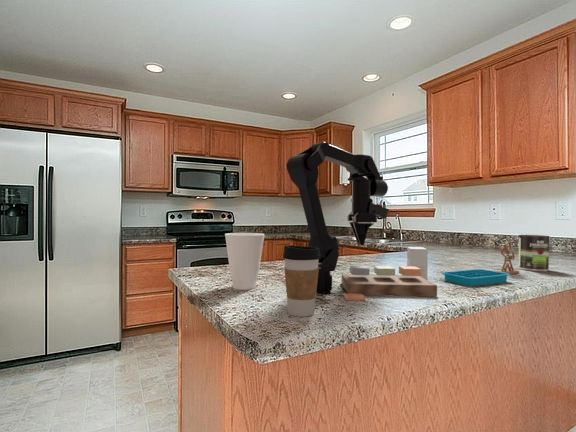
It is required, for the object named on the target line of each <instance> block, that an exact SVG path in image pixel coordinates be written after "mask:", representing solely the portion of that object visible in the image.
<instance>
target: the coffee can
mask: <svg viewBox="0 0 576 432" xmlns="http://www.w3.org/2000/svg"><path fill="white" fill-rule="evenodd" d="M550 238H551V237H550V236H549V235H541V234H540V235H538V234H518V267H517V268H518V269H520V270H524V271H531V272H549V271H550V270H549V264H550V261H549V260H550Z"/></svg>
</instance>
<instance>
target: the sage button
mask: <svg viewBox="0 0 576 432" xmlns="http://www.w3.org/2000/svg"><path fill="white" fill-rule="evenodd" d="M373 266H374V268H373V269H374V270H373V272H374V274H375V275H386V276H395V275H396V268H395V267H393V266H391V265H373Z"/></svg>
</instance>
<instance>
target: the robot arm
mask: <svg viewBox="0 0 576 432" xmlns="http://www.w3.org/2000/svg"><path fill="white" fill-rule="evenodd" d="M324 161H327V162H330V163H333V164H335V165H338V166H341V167H343V168H345V170H346V171H347V172H348V173H349V174H351V175H350V176H349V177H347V181H349V182H352V183H351V184H352V185H351V190H352V191H351V193H352V195H351V199H350V202H351V211H350V212H349V214H347V218H346V220H347V222H349V225H350V228H351V230H352V232H353V235H354V238H355V240H356V244H357V245H359V246H364V245H365V241H366V239H367V234H368V231H369V229H370V228H371V227H372V226H374V224H375V223H378V218H379V219H381V220H382V219H383V220H386V219H387V217H388V214H389V212H390V209H389V208H387V207H384V206H383V205H381V204H379V203H377V204H375V203H373V199H372V198H371V197H376V198H377V197H378V198H381V197H384V196H385V195H387V193H388V190H389V186H388V184H387V182H386V180H384V179H383V178H384V176H381V175H380V171H379V170H378V167H377V165H376V163H375V160H374V158H373V156H371V155H368V154H355V153H353V152H349V151H347V150H344V149H342V148H339V147H337V146H334V145H331V144H330V143H329V142H327V141H320V142H316V143H313V144H312V145H310V146H309V147H308V148H306V149H305V150H303V151H302V152H299V153H298V154H296V155H292V156H290V157H289V158H288V160H287V162H286V170H287V172H288V175H289V178H290V180H291V181H292V183H293V184H294V185H295V186H296V187H297V188H298V192H299V196H300V199H301V203H302V207H303V211H304V216H305V220H306V224H307V227H308V231H309V232H308V233H309V235H310V238H309V241H308V245H307V247H317V248H319V251H320V255H321V256H320V259H319V261H318V268H319V272H318V281H317V291H316V294H331V293H332V292H331V291H332V290H333V275H332V274H331V272H335V271H336V268H337V263H338V259H339V257H340V256H339V255H340V252H339V250H340V249H341V248H339V243H338V238H337V236H332V235H330V234H329V232H328V230H327V225H326V220H325V217H324V213H323V207H322V204H321V201H320V200H321V199H320V196H319V192H318V187H317V181H318V178H319V175H320V172H319V166H321V164H323V163H324Z"/></svg>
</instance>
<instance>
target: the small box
mask: <svg viewBox="0 0 576 432" xmlns="http://www.w3.org/2000/svg"><path fill="white" fill-rule="evenodd" d="M406 250H407V251H406V253H407V254H406V265H407V266H415V267H418V268H420V269H421V276H420V277H422V278H424V279H426V280H428V248H425V247H423V246H407V248H406Z"/></svg>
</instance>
